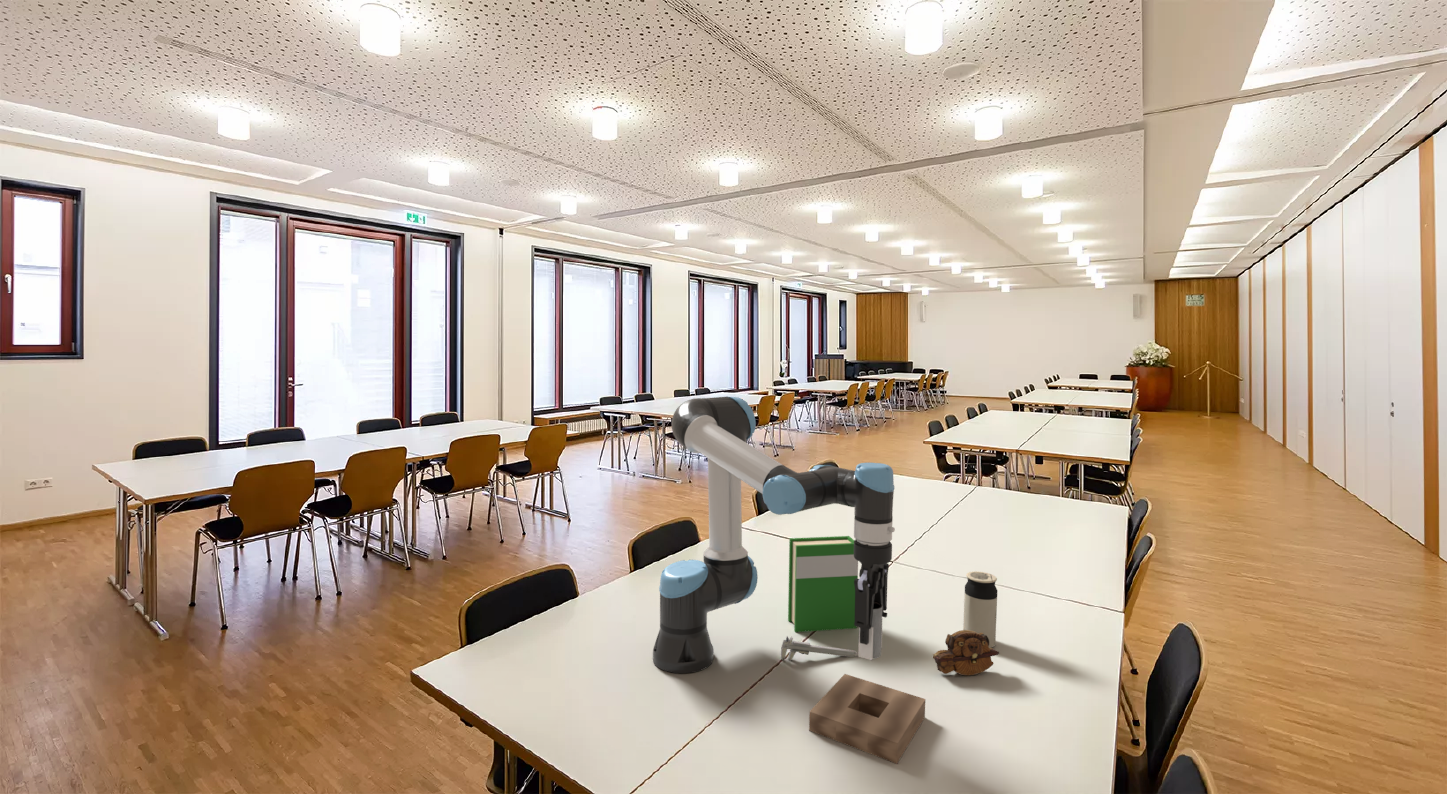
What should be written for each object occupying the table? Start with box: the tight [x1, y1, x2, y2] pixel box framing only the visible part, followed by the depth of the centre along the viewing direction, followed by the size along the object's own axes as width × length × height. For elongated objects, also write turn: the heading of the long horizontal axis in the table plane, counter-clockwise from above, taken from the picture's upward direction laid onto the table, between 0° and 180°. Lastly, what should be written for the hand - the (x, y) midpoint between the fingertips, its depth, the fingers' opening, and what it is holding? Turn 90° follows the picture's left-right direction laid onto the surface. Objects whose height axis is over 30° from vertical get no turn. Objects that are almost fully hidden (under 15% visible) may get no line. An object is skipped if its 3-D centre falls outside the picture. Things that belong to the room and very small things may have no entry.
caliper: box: [780, 635, 859, 662], centre depth 155 cm, size 20×1×6 cm, turn 99°
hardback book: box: [787, 535, 859, 633], centre depth 174 cm, size 18×7×24 cm, turn 99°
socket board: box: [808, 673, 926, 764], centre depth 127 cm, size 18×18×4 cm
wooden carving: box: [932, 629, 1000, 676], centre depth 148 cm, size 16×5×10 cm, turn 105°
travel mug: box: [962, 570, 998, 648], centre depth 164 cm, size 8×8×18 cm
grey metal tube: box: [857, 601, 883, 659], centre depth 126 cm, size 4×4×10 cm
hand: (870, 652), depth 126 cm, fingers closed on grey metal tube, 4 cm apart
